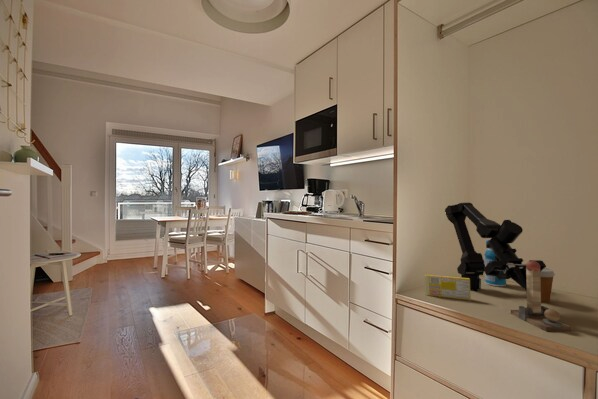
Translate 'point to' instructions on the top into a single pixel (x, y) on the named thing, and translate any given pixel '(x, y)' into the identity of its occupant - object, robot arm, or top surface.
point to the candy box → (447, 287)
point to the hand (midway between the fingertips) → (528, 290)
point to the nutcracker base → (542, 319)
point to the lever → (533, 288)
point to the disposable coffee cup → (546, 284)
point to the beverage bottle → (492, 279)
